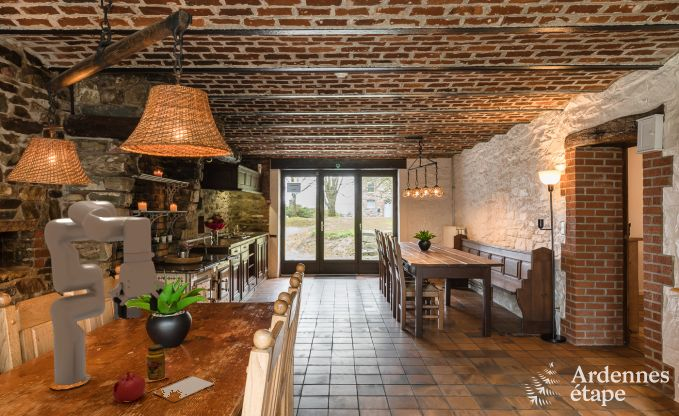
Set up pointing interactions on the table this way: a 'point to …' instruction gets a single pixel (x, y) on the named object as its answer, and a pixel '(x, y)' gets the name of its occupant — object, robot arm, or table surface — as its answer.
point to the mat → (186, 386)
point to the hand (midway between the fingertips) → (138, 314)
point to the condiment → (156, 362)
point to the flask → (128, 310)
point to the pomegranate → (129, 387)
